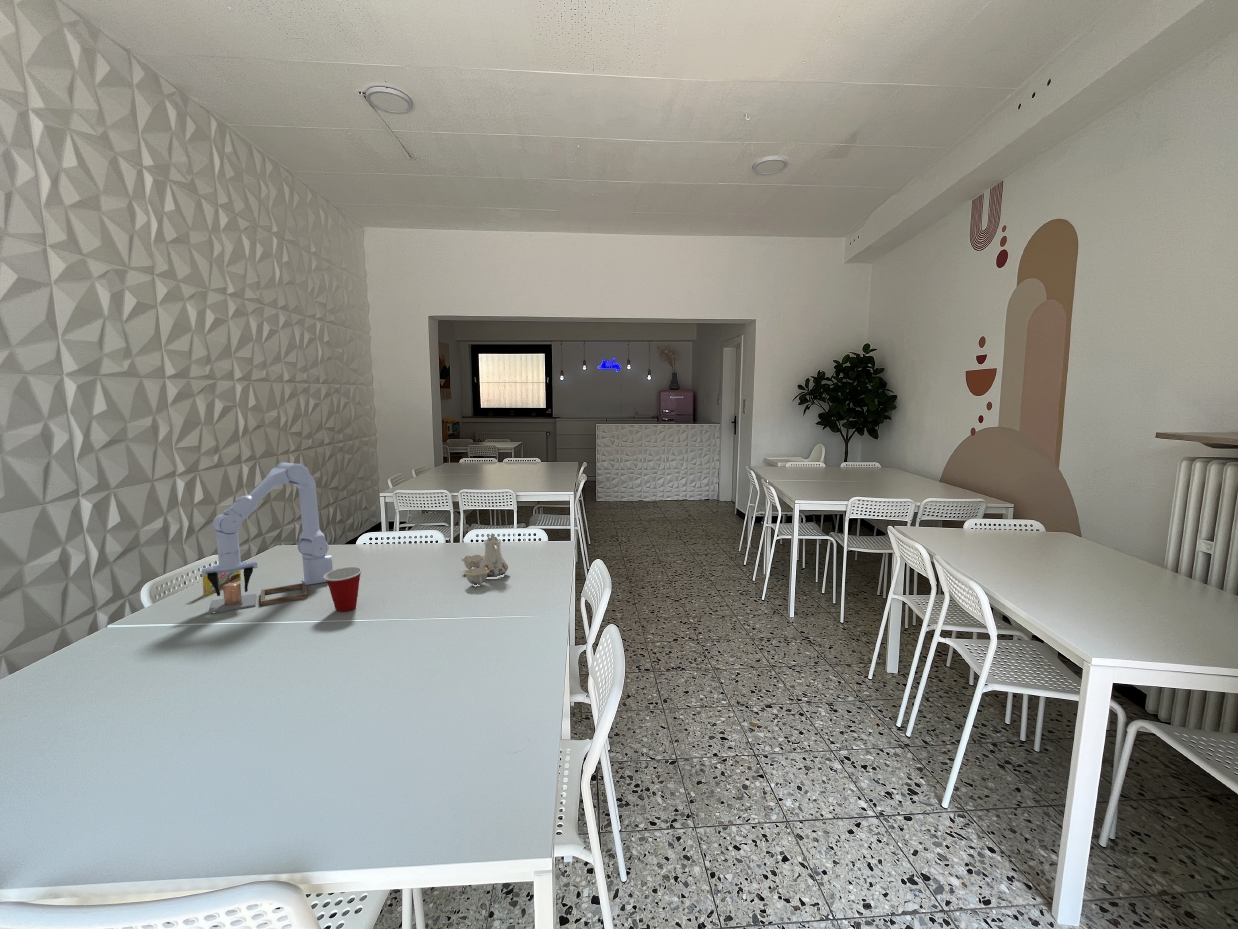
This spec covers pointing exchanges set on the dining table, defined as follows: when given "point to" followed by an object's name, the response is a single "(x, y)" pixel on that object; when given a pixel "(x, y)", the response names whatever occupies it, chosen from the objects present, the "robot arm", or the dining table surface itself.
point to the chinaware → (485, 562)
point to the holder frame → (285, 598)
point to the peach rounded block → (232, 593)
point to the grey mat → (220, 605)
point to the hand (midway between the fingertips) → (232, 593)
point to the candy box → (221, 580)
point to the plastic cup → (344, 587)
